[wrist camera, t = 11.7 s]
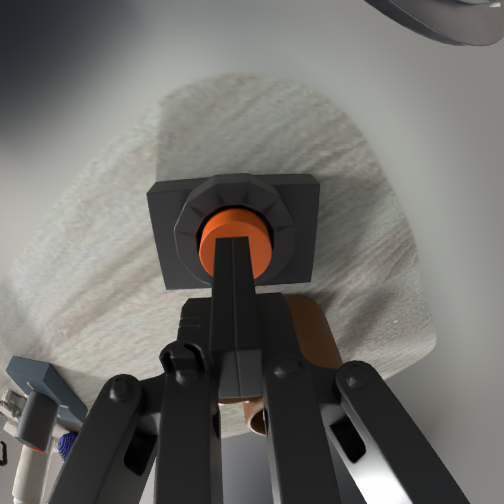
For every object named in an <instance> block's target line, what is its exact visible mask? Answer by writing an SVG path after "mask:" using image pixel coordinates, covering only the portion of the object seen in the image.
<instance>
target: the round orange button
mask: <svg viewBox="0 0 504 504" xmlns="http://www.w3.org/2000/svg"><path fill="white" fill-rule="evenodd" d="M241 236H248V238H249V246H250V253H251V261H252V268H253V276H254V279H255V278H257V277H258V276H259V275H261V274H262V273H263V272H264V271H265V270H266V268H267V267H268V265H269V263H270V260H271V256H272V247H271V243H270V239H269V235H268V231H267V228H266V226H265V224H264V222H263V221H262V219H261V218H260V217H259V216H257V215H256V214H255V213H253V212H251V211H248V210H246V209H241V208H230V209H225V210H222V211H220V212H218V213H216V214H215V215H213V216H212V217H211V218H210V219H209V220H208V222H207V223H206V225H205V227H204V229H203V233H202V238H201V244H200V251H199V254H200V260H201V263H202V265H203V267H204V268H205V270H206V271H207V272H208V273H209V274H210V275H211V276H213V267H214V253H215V241H216V238H223V237H241Z"/></svg>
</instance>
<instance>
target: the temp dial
mask: <svg viewBox="0 0 504 504" xmlns="http://www.w3.org/2000/svg"><path fill="white" fill-rule="evenodd" d="M58 412H59V406H58V405H57V404H56V403H55V402H54V401H52V400H51V399H50V398H48V397H46V396H45V395H43V394H41V393H38V392H35V391H31V392H30V394H29V397H28V399H27V402H26V405H25V407H24V410H23V413H22V416H21V419H20V422H19V425H18V428H17V431H16V434H15V438H16V439H17V440H18V441H20V442H21V443H23V444H24V445H26V446H27V447H29V448H31V449H33V450H35V451H37V452H39V453H42V454H44V455H46V454H47V451H48V447H49V444H50V440H51V436H52V433H53V429H54V426H55V422H56V419H57V416H58Z"/></svg>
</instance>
